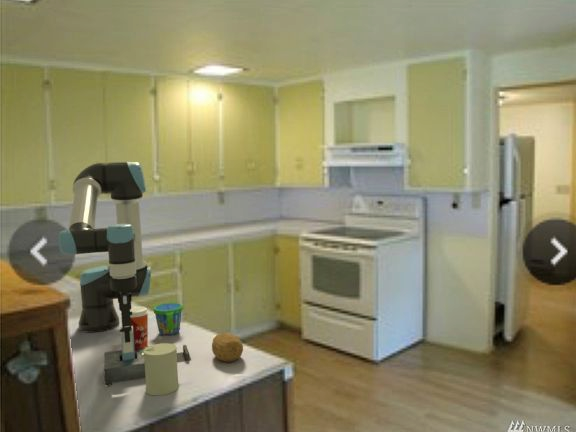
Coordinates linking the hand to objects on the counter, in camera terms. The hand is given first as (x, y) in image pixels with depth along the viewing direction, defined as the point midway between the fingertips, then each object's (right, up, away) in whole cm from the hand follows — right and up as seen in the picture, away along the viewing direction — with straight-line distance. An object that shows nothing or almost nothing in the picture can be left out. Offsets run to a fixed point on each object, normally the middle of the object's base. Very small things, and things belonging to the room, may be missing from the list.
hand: (127, 344), depth 155 cm
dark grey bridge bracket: (+13, -8, +10) cm, 18 cm away
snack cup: (+4, -5, +36) cm, 37 cm away
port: (0, -9, +1) cm, 9 cm away
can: (+13, -10, -10) cm, 20 cm away
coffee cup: (-2, -7, +17) cm, 19 cm away
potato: (+29, -7, +9) cm, 32 cm away
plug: (0, -9, +1) cm, 9 cm away
